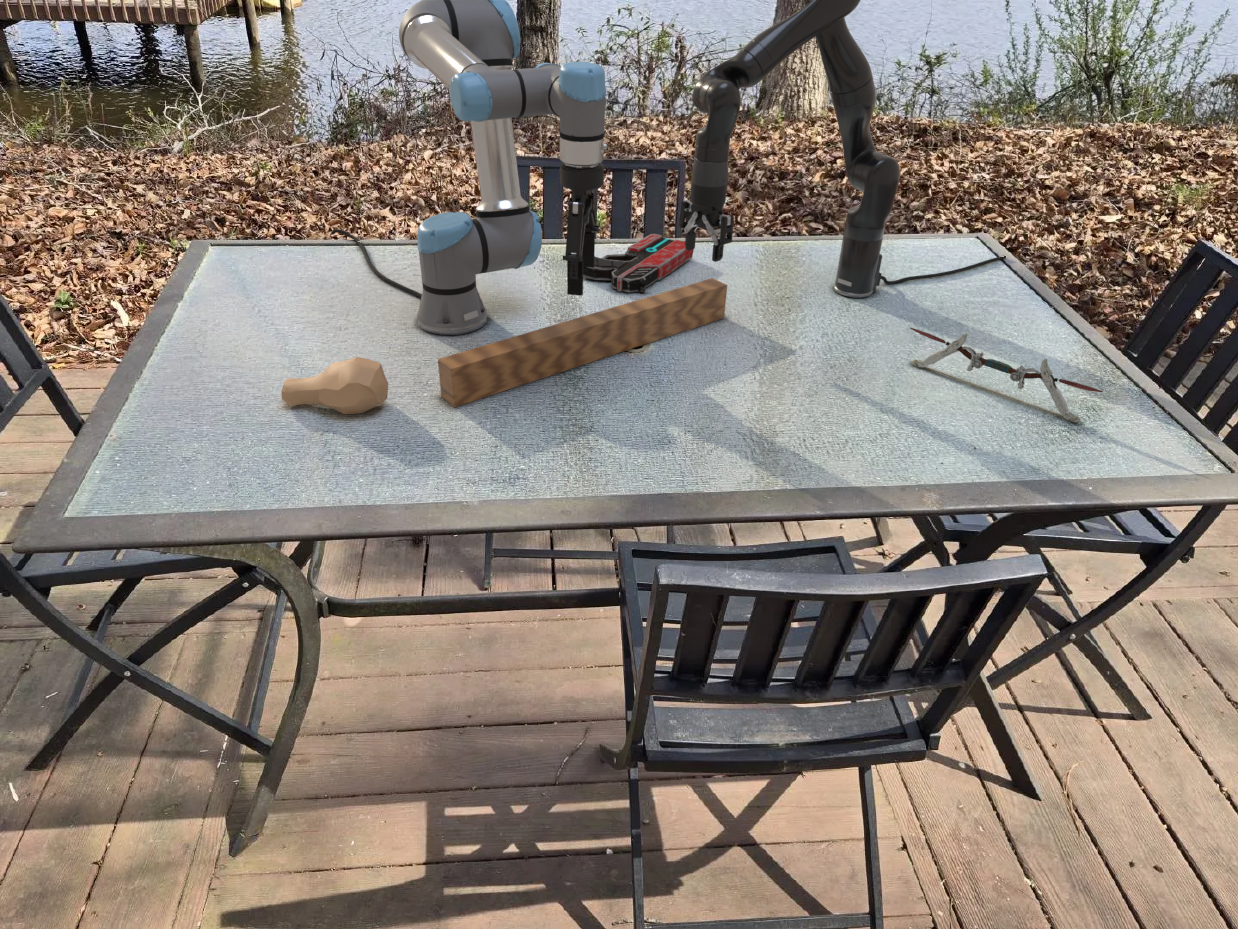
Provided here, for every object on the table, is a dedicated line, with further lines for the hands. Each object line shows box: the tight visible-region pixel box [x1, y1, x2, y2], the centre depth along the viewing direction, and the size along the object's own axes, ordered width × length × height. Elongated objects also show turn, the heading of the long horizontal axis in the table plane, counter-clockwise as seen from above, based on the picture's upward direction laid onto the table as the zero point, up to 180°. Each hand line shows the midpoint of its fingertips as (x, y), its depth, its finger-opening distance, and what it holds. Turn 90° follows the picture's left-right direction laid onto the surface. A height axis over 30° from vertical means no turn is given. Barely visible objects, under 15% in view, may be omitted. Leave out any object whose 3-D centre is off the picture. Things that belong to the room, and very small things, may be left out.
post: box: [437, 277, 728, 408], centre depth 183 cm, size 70×5×8 cm, turn 128°
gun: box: [583, 233, 695, 294], centre depth 225 cm, size 4×31×19 cm
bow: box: [909, 326, 1104, 423], centre depth 173 cm, size 39×2×10 cm, turn 47°
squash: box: [281, 356, 389, 415], centre depth 163 cm, size 11×20×9 cm, turn 90°
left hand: (581, 279), depth 162 cm, fingers open, 13 cm apart
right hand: (703, 254), depth 192 cm, fingers open, 8 cm apart
